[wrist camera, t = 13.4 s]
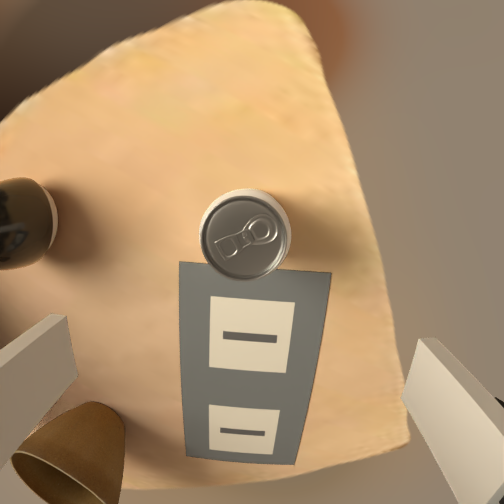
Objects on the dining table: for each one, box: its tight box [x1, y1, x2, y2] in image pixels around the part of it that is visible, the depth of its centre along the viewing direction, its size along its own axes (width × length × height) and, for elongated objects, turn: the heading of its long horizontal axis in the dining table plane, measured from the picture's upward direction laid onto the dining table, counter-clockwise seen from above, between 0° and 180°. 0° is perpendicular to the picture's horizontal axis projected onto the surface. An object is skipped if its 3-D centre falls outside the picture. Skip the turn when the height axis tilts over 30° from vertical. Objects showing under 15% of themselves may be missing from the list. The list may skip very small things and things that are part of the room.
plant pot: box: [10, 402, 125, 504], centre depth 31 cm, size 15×15×16 cm
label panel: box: [179, 262, 331, 465], centre depth 36 cm, size 16×30×1 cm, turn 176°
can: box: [199, 189, 291, 282], centre depth 26 cm, size 6×6×12 cm
